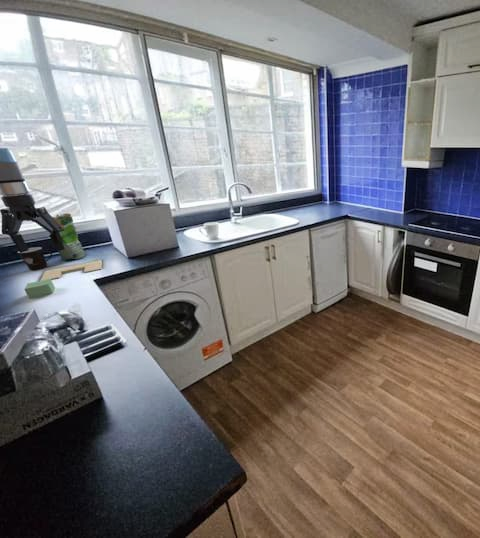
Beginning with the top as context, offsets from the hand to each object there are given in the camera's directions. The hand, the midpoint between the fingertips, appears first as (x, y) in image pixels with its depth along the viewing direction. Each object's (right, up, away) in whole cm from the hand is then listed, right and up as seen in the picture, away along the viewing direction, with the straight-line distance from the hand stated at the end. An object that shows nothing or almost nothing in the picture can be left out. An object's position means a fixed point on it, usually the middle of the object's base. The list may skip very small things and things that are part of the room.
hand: (42, 251), depth 113 cm
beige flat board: (-22, -8, +35) cm, 42 cm away
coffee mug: (-45, -7, +41) cm, 61 cm away
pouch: (-40, -1, +54) cm, 67 cm away
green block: (-12, -18, +11) cm, 24 cm away
